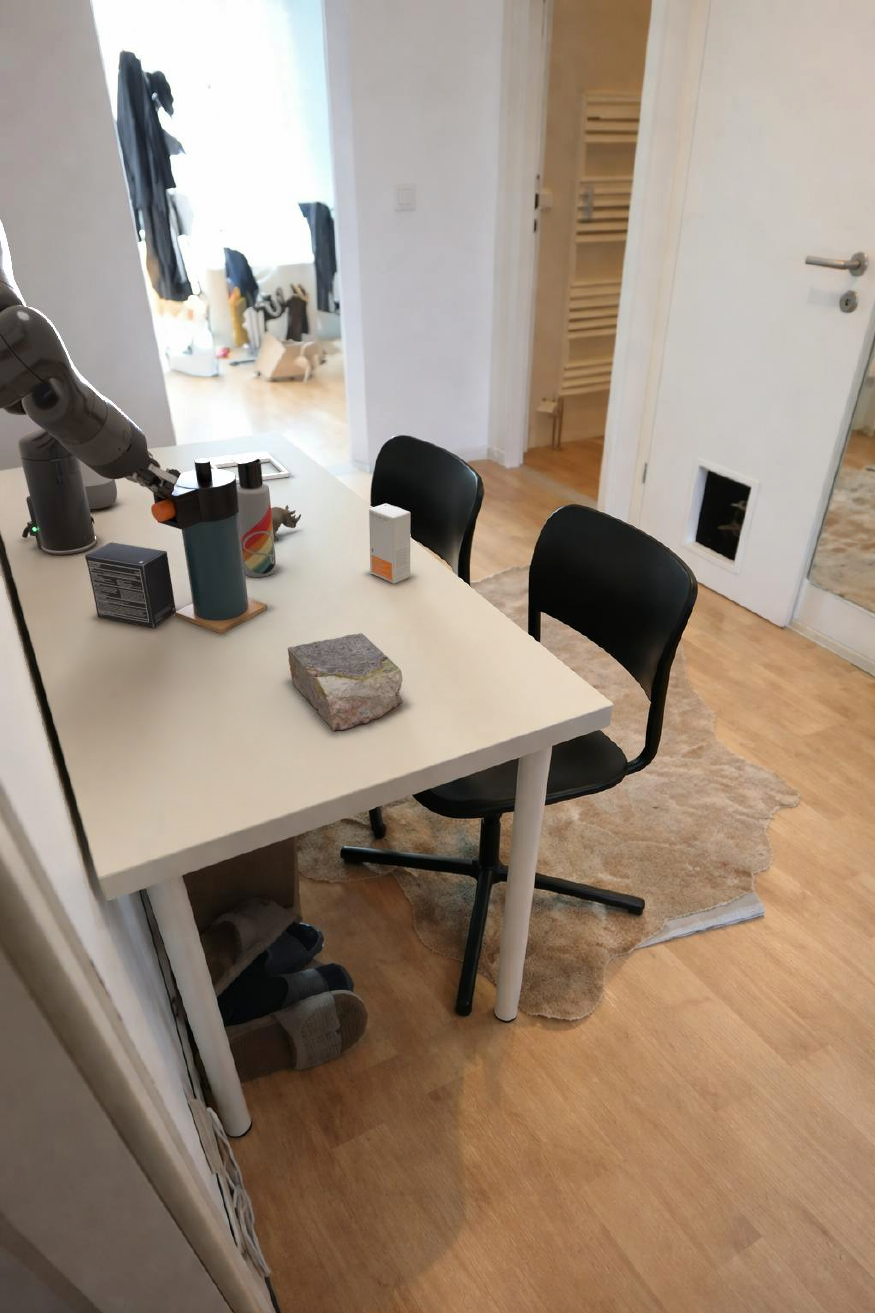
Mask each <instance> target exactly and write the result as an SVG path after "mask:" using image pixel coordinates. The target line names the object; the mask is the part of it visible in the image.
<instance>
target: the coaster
mask: <svg viewBox="0 0 875 1313" xmlns="http://www.w3.org/2000/svg"><path fill="white" fill-rule="evenodd" d="M248 604H249V606H248V609H247V611H246V612H245V613H243V614H242V615H240V616H238V617H235V618H232V619H227V620H206V619H202V618H200V617H198V616H197V615H196V614H195V613H194V610H193V603H190V604H188V605H186V606H184V607H182V608H180V609H178V610H176V612H175V613H174V615H175V617H177V618H179V619H181V620H184V621H186V622H190V623H191V624H195V625H197V626H200V627H203V628H205V629H208V630H210V631H212V632H215V633H218V634H221V635H222V634H224V633H226V632H228V631H230V630H232V629H233V628H235V627H237V626H239V625H241V624H242V623H244V622H246V621H248V620H250V619H252V618H253V617H256V616H257V615H259V614H261V613H263V612H265V611H266V610H268V604H266V603H263V602H260V601H259V600H255V599H251V598H249V597H248Z"/></svg>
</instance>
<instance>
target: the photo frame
mask: <svg viewBox="0 0 875 1313" xmlns="http://www.w3.org/2000/svg"><path fill="white" fill-rule="evenodd" d="M246 457H258V458H259V459H260V460H261V464H262V463H269V462H270V463H271V464H272V465H273V466H274V467H275V468H276V469H277V470H278V471H279V472H275V473H267V474H262V480H263V481H266V480H274V479H281V478H288V477H290V472H289V471H288V470H287V469H286V468H285V467H283V465H281V463H280V462H278V460H276V459H275V458H274V457H273V456H272V455H271V454H269V452H268V451H257V452H247V453H241V454H232V455H223V456H215V457H207V458H206V459H210V463H211V469H220V468H229V467H236V466H237V462H238V461H239V460H241V459H243V458H246ZM236 483H237V484H239V477H236Z"/></svg>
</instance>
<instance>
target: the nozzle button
mask: <svg viewBox="0 0 875 1313" xmlns="http://www.w3.org/2000/svg"><path fill="white" fill-rule="evenodd" d="M150 509H151V515H152V517H153V518H154V519H155V521H157V522H158V521H159V522H163V521H165V520H168V519H171V518H173V517H176V512H175V506H174V500H170V499H167V500H163V501H161V502H158V503H155V502H154V503H153V504H152V505H151V507H150Z"/></svg>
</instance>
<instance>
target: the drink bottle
mask: <svg viewBox="0 0 875 1313" xmlns="http://www.w3.org/2000/svg"><path fill="white" fill-rule="evenodd" d="M193 463H194V470H188V471H185V472H181V475H180V477H179V479H178V481H177V483H176V485H175V486H174V490H173V492H172V494H171V496H170V498H168V499H170V500H174V506H175V512H176V517H173V518H171V519H168V520H165V521H163V522H159V521H157V523H159V524H162V525H165V526H169V527H172V528H174V529H178V530H181V535H182V541H183V549H184V555H185V562H186V570H187V574H188V575H187V576H188V582H189V588H190V597H191V602H192V603H193V610H194V613H195V614H196V615H197V616H198V617H200V618H202V619H206V620H227V619H232V618H235V617H238V616H240V615H242V614H243V613H245V612H246V611H247V609H248V606H249V604H248V598H249V597H248V587H247V578H246V574H245V568H244V559H243V550H242V541H241V532H240V523H239V514H238V512H239V502H238V492H237V485H238V483H236V478H237V476H236V474H235V473H233V472H232V471H228V470H225V469H220V468H217V469H211V463H210V459H206V458H205V457H204V458H203V457H201V458H197V459H195V460H194V462H193ZM152 494H153V495H152V496H153V502H154V504H155V503H158V502H161V501H163V500H166V499H163V498H161V497H158V496H157V495H155V494H154V493H153V492H152ZM192 603H191V604H192Z"/></svg>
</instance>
